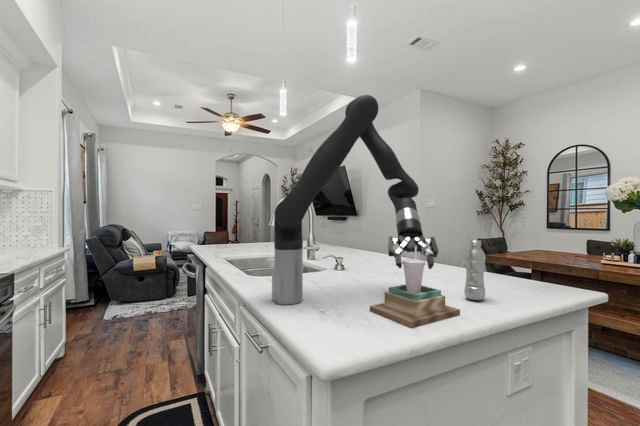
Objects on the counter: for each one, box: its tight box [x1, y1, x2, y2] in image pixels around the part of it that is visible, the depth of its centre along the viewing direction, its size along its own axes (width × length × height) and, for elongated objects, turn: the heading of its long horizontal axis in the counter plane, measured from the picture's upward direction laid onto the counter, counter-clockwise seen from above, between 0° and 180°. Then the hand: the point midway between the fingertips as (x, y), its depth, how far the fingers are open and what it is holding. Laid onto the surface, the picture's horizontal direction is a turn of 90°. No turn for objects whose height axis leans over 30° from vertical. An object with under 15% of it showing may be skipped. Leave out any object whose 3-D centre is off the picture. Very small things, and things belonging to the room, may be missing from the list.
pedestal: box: [369, 284, 461, 329], centre depth 94 cm, size 20×16×7 cm
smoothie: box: [402, 246, 426, 294], centre depth 94 cm, size 6×6×14 cm
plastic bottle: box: [464, 239, 487, 301], centre depth 108 cm, size 6×7×20 cm
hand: (415, 267), depth 92 cm, fingers open, 8 cm apart
